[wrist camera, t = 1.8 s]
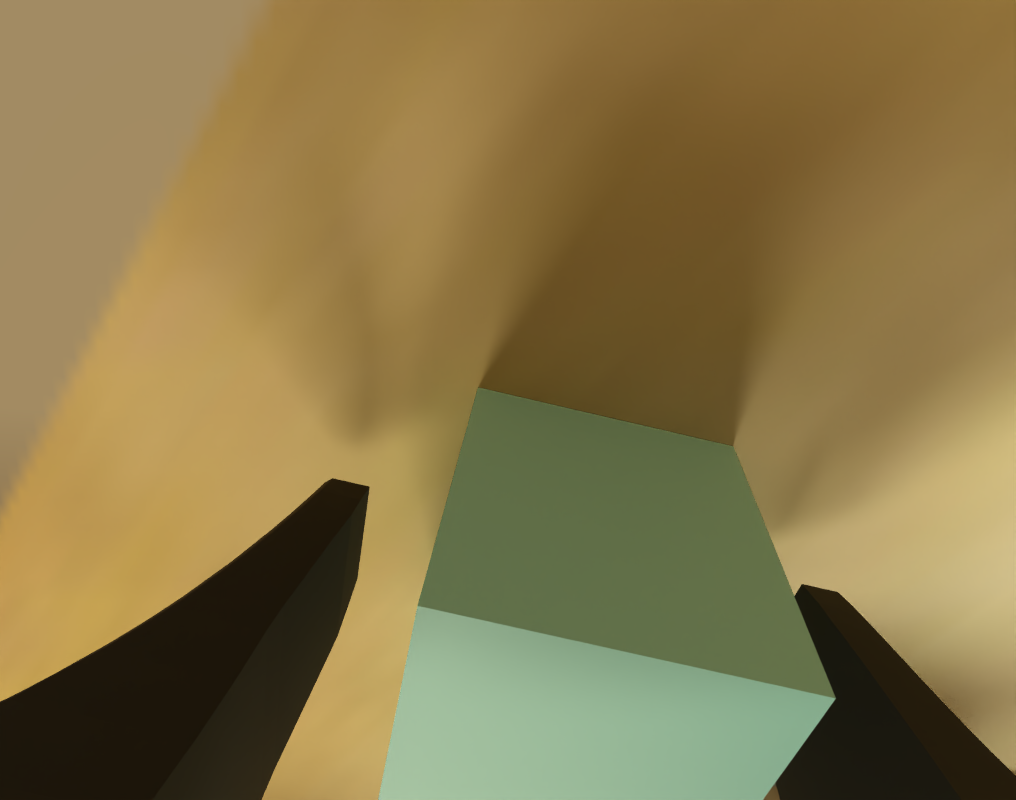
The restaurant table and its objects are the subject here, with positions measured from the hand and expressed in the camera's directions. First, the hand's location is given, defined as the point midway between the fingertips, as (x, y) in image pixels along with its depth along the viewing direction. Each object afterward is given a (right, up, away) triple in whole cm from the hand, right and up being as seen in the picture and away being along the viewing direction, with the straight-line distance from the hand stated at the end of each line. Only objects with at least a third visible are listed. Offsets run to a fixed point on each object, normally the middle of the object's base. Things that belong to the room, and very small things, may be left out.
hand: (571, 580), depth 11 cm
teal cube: (0, +1, +2) cm, 2 cm away
